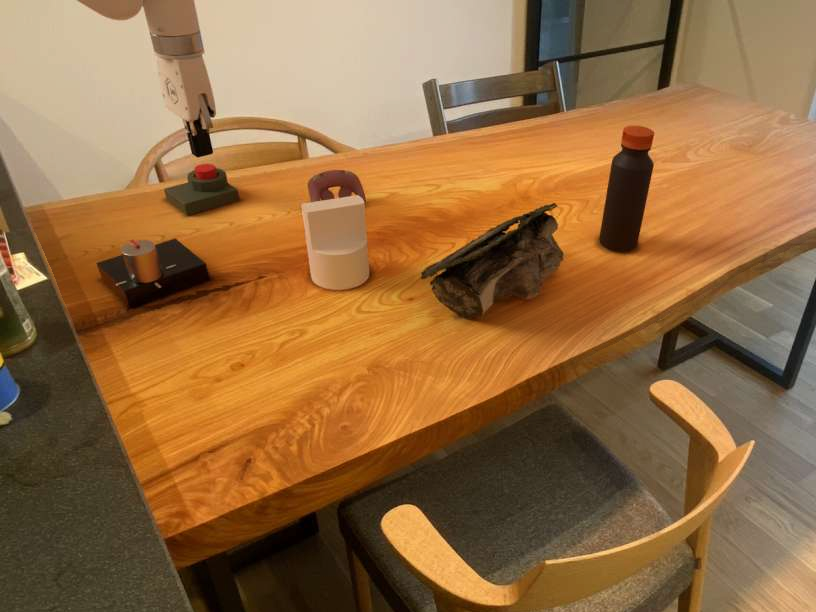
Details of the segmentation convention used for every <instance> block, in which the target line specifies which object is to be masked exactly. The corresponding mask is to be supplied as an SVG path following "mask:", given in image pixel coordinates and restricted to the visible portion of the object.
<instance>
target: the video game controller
mask: <svg viewBox="0 0 816 612" xmlns="http://www.w3.org/2000/svg"><path fill="white" fill-rule="evenodd" d="M337 187H340V188H339V190H338V193H337V197H338V198H342V197H349V196H352V194H354V196H355V195H359V196H360V197H361V198H362V199H363V200H364V204H365V205H366V203H367V200H366V193H365V191H364V188H363V185H362V182H361V180H360V178H359V177H358V175H357V174H355V173H354V172H352V171H351V170H343V169H330V170H326V171H323V172H320V173H317V174H314V175H313V176H312V177H311V178H309V180H308V181H307V190H308V195H309V196H308V197H309V200H310V202H317V201H323V200H329V199H335V194H334V192H333V191H332V190H330V188H337Z"/></svg>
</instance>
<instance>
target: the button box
mask: <svg viewBox="0 0 816 612" xmlns="http://www.w3.org/2000/svg"><path fill="white" fill-rule="evenodd" d="M216 171H217V177H216V178H213V179H207V180H201V179H197V178H196V174H195V169H193V170H192V171H190V172H188V173H187V176H186V178H187V182H184V183H181V184H180V183H179V184H177V185H173V186H168V187H165V188H163V192H164V196H165V199H166V201H167V202H168V203H170V204H171V205H172V206H174V207H175V208H176V209H178V210H179V211H180V212H182V213H183V214H184V215H185V216H191V215H194V214H197V213H201V212H205V211H208V210H211V209H212V210H213V209H215V208H218V207H221V206H225V205H228V204H231V203H235V202H239V201H240V194H239V190H238V188H237V187H235V186H234V185H232V184H230V183H229V182H228V176H227V172H226V171H225V170H223V169H222V168H218V167H216Z"/></svg>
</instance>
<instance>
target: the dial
mask: <svg viewBox="0 0 816 612" xmlns="http://www.w3.org/2000/svg"><path fill="white" fill-rule="evenodd" d="M128 241H129V242H128V243H126V244H124V245H122V247H121V249H120V252H121V255H123V258H124V261H125V264H126V267H127V270H128V273H129V277H130V279H131V280H132V281H134V282H137V283H148V282H152V281H155V280H157V279H159V278H160V277H161V276H162V275H163V270H162V267H161V263H160V260H159V256H158V253H157V249H156V246H155V245H156V244H155V243H154V242H153V241H151V240H148V239H147V240H145V239H140V240H139V239H138V240H135V239H129V240H128Z"/></svg>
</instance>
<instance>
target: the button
mask: <svg viewBox="0 0 816 612" xmlns="http://www.w3.org/2000/svg"><path fill="white" fill-rule="evenodd" d="M216 168H217V167H216V165H214V164H211V163H202V164H197V165H195V167H194V169H193V170H195V174H196V178H197V179H201V180H207V179H213V178H216V177H217V171H216Z"/></svg>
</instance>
